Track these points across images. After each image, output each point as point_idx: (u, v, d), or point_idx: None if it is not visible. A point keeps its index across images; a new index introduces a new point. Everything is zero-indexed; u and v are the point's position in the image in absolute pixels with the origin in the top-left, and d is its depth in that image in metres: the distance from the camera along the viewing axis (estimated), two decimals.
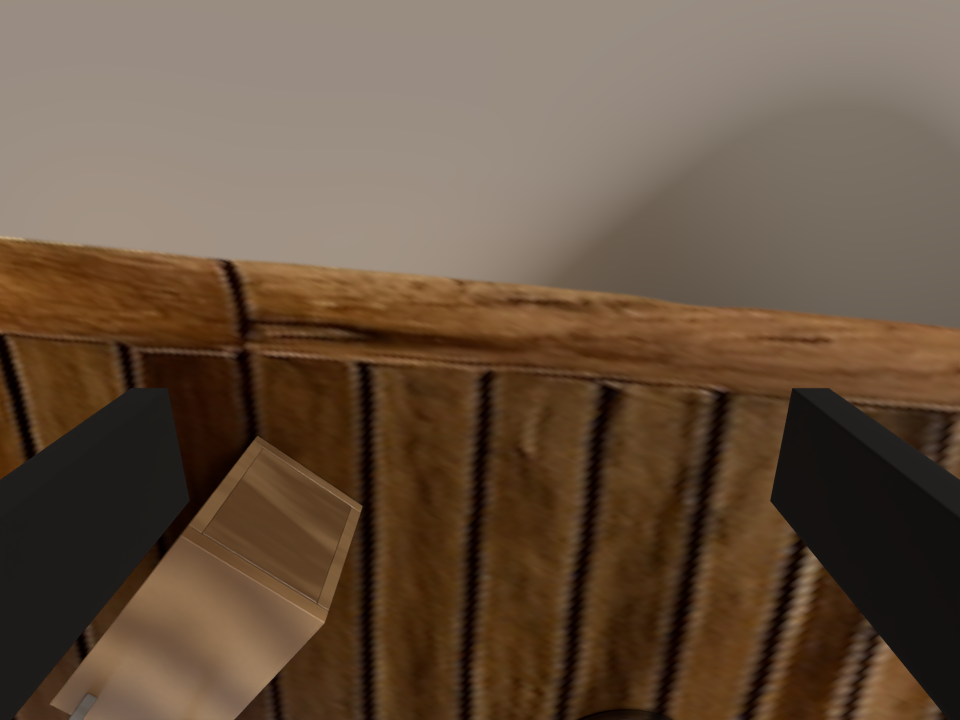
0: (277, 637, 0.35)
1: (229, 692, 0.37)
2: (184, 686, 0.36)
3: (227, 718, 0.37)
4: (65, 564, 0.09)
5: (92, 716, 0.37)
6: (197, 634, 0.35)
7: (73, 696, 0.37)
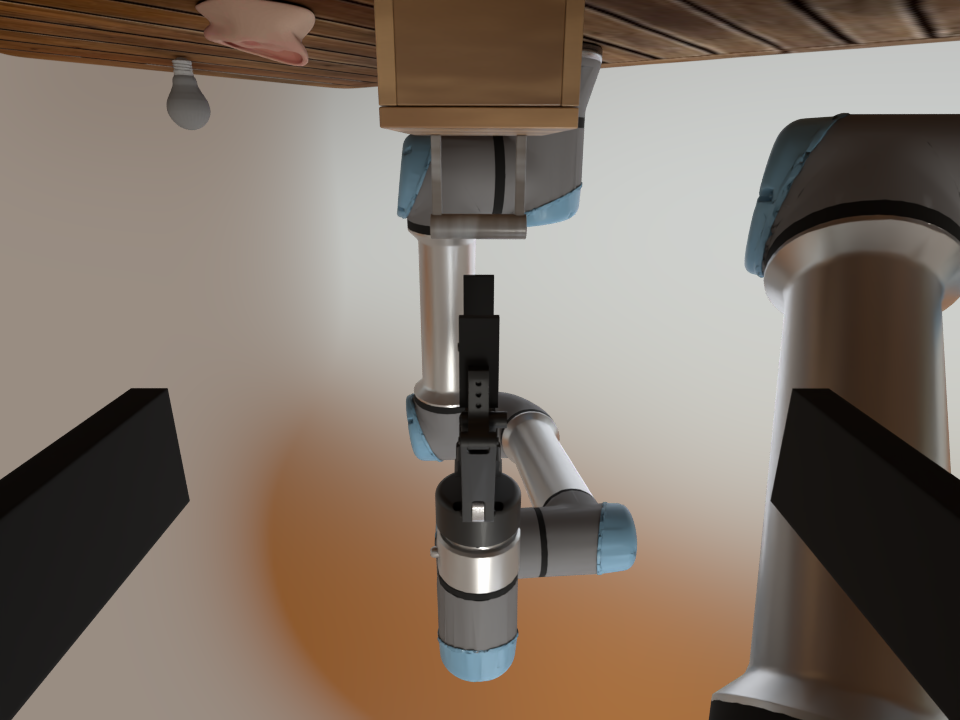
0: None
1: None
2: None
3: None
4: (66, 563, 0.09)
5: None
6: (469, 131, 0.34)
7: None
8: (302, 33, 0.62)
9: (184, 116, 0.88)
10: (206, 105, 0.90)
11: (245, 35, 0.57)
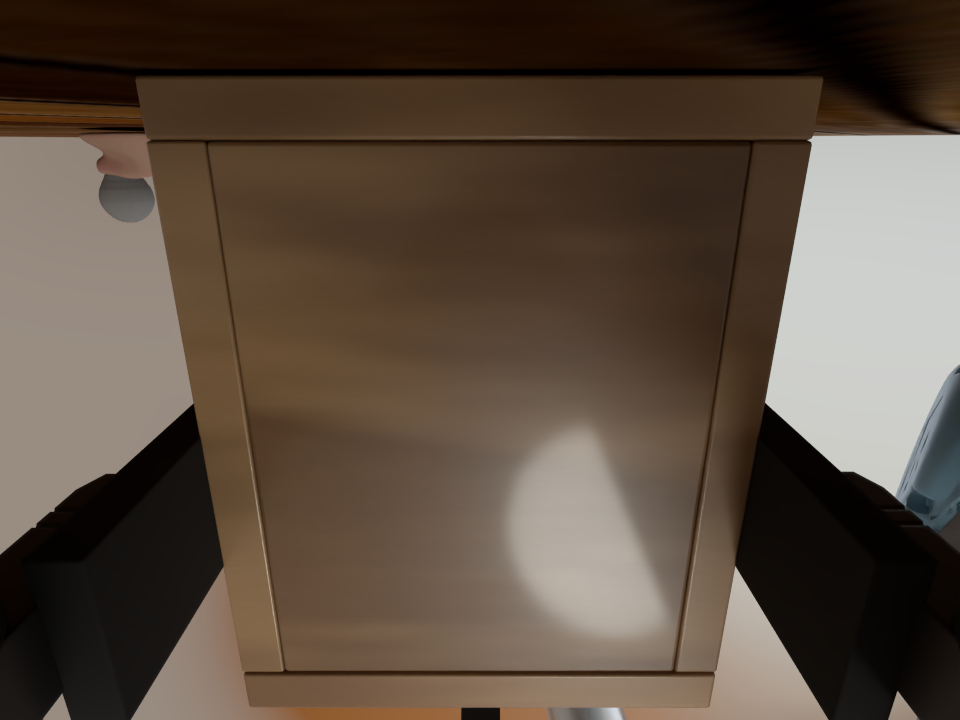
0: None
1: None
2: None
3: None
4: (203, 520, 0.10)
5: None
6: None
7: None
8: None
9: (120, 210, 0.72)
10: (148, 194, 0.73)
11: None
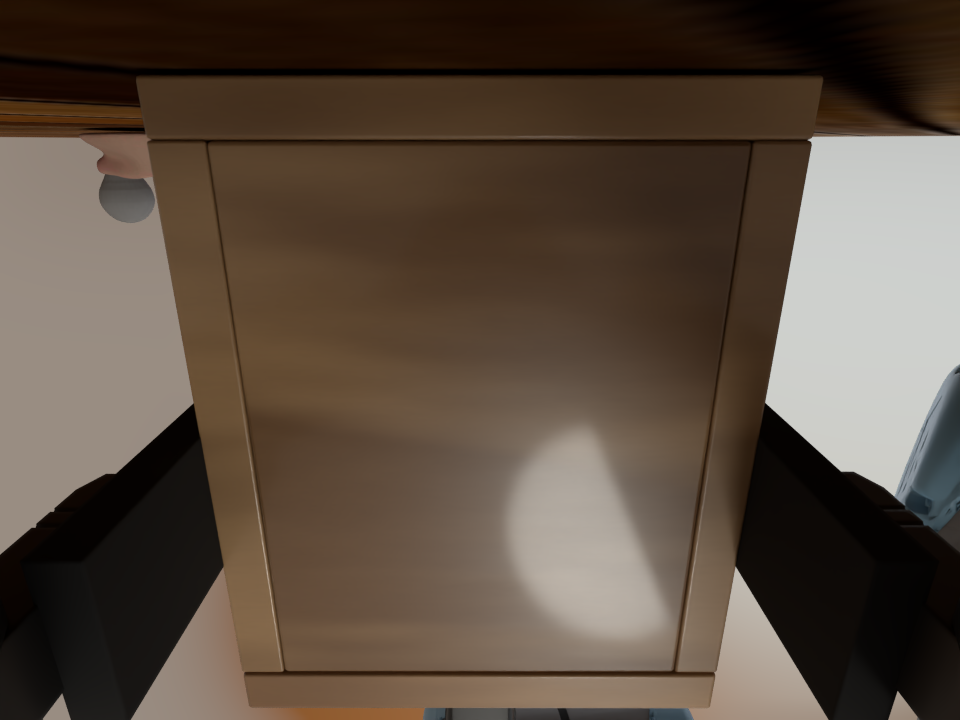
0: None
1: None
2: None
3: None
4: (203, 520, 0.10)
5: None
6: None
7: None
8: None
9: (120, 210, 0.72)
10: (148, 194, 0.74)
11: None
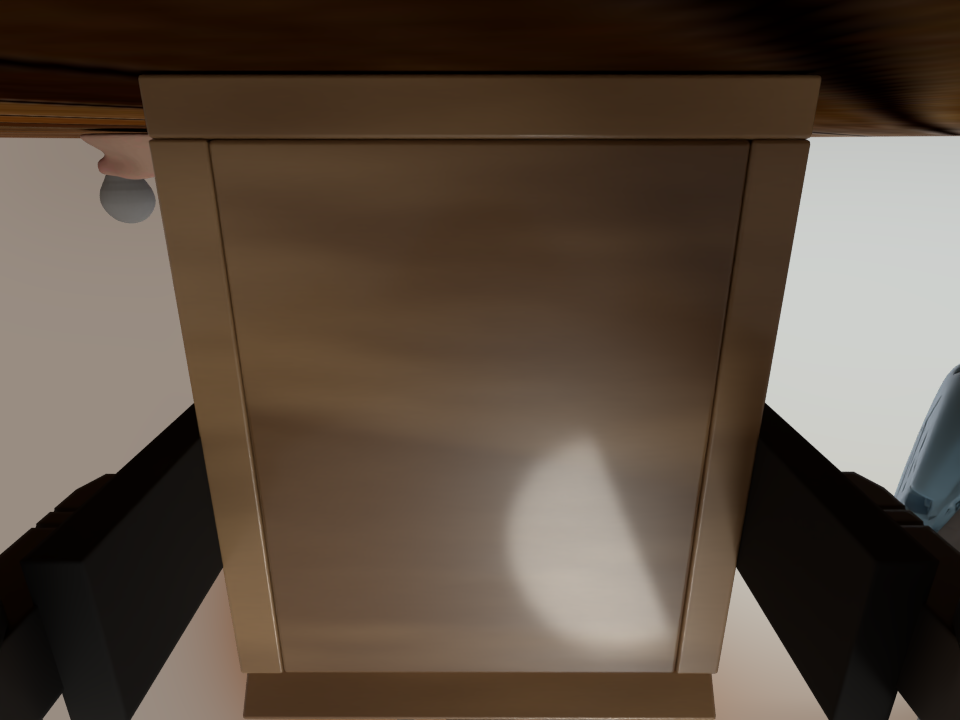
0: None
1: None
2: None
3: None
4: (203, 520, 0.10)
5: None
6: None
7: None
8: None
9: (121, 210, 0.72)
10: (149, 195, 0.74)
11: (153, 171, 0.41)
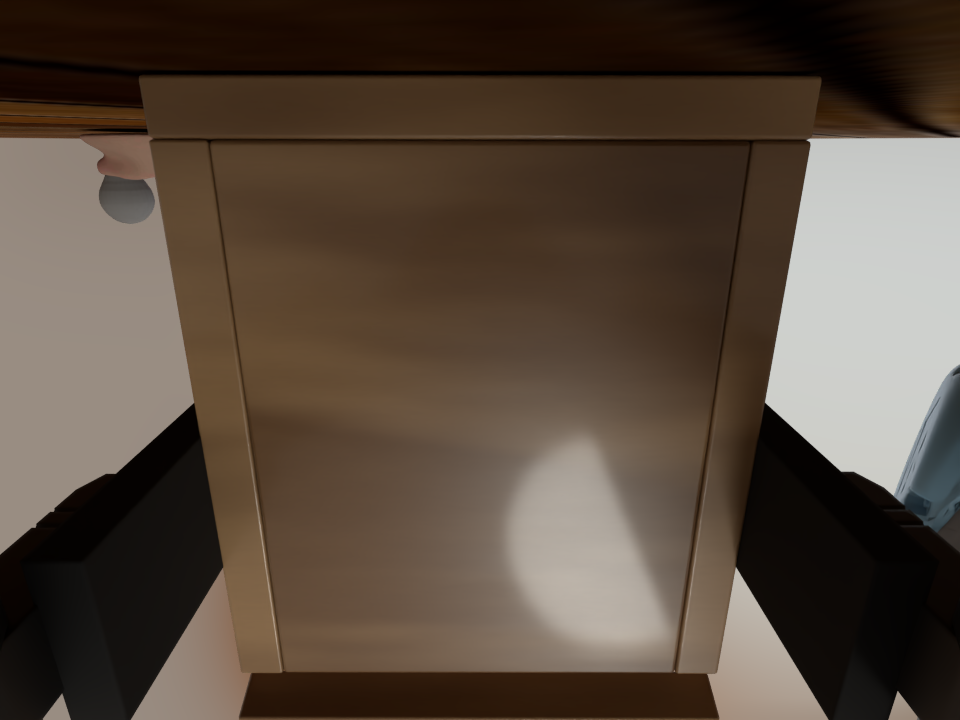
0: None
1: None
2: None
3: None
4: (203, 520, 0.10)
5: None
6: None
7: None
8: None
9: (120, 211, 0.72)
10: (148, 195, 0.74)
11: (152, 172, 0.41)
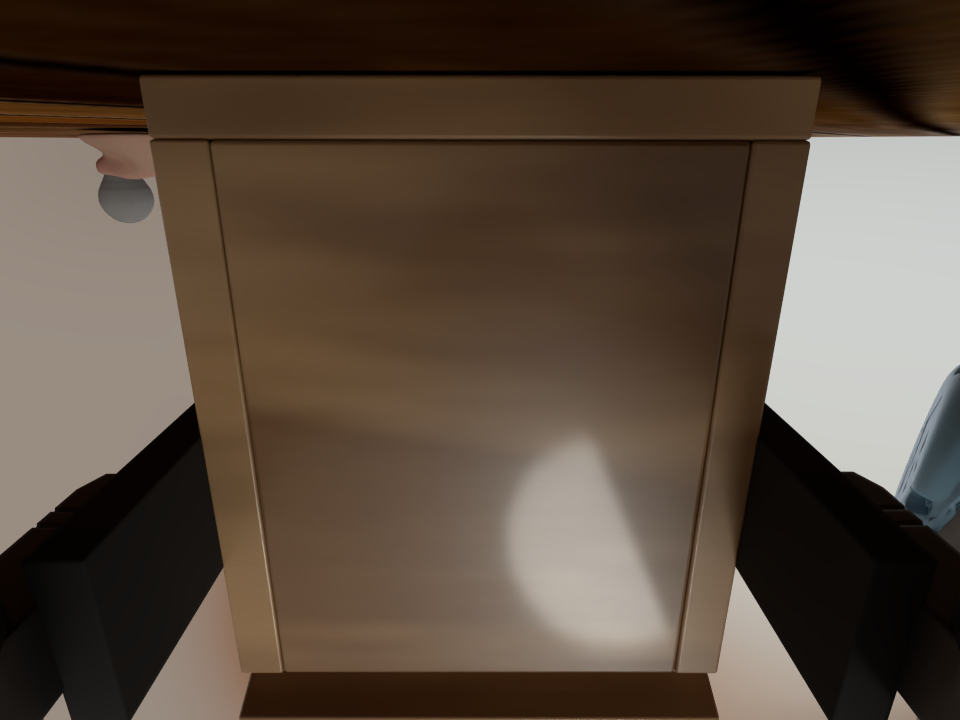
0: None
1: None
2: None
3: None
4: (203, 520, 0.10)
5: None
6: None
7: None
8: None
9: (119, 210, 0.72)
10: (147, 194, 0.73)
11: (151, 171, 0.40)
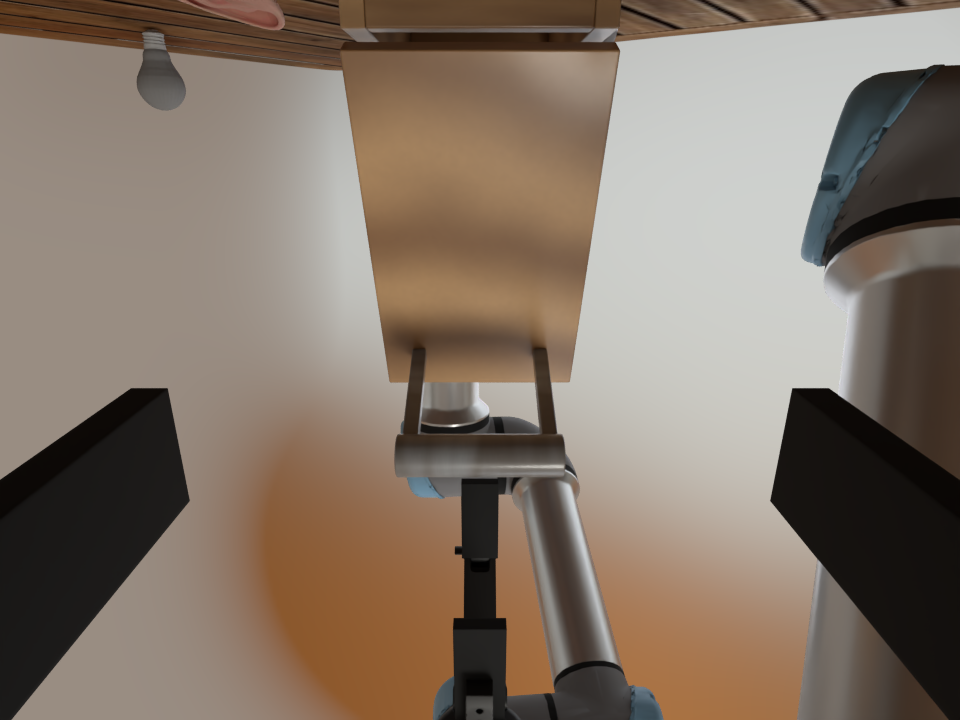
0: (567, 128, 0.22)
1: (557, 254, 0.26)
2: (501, 279, 0.27)
3: (575, 291, 0.27)
4: (66, 563, 0.09)
5: (437, 372, 0.31)
6: (466, 196, 0.24)
7: (403, 361, 0.30)
8: None
9: (156, 94, 0.80)
10: (180, 83, 0.82)
11: None
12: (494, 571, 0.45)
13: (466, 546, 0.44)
